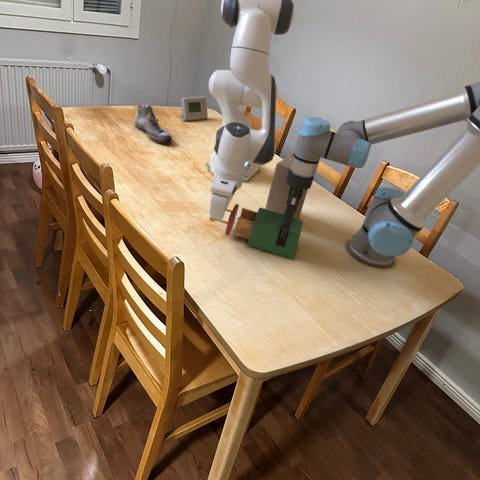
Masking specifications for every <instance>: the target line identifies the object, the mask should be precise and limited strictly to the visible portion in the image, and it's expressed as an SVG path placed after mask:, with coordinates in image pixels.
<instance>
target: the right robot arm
mask: <svg viewBox="0 0 480 480" xmlns="http://www.w3.org/2000/svg"><path fill="white" fill-rule="evenodd" d="M464 121H465V122H467V123H466V129H464V131H463V132H461V134H460V135H459V136H458V137H457V138H456V139H455V140H454V141H453V142H452V143H451V144H450V146H449V147H448V148H447V149H446V150H444V152H443V153H442V154H441V155H440V156H439V157H438V158H437V159H436V160H434V162H433V163H432V164H431V165H430V166H429V167H428V169H426V170H425V172H424V173H423V174H422V175H421V176H420V177H419V178H418V179H417V180H416V181H415V182H414V183H413V184H412V185H411V186H410V187H409V188H408V189H407V190H406V192H404V191H402V190H399V189H396V188H392V187H387V186H386V187H385V186H382V187H379V188H377V189H376V190H375V193H374V194H373V197H372V201H371V203H370V205H369V208H368V210H367V213H366V215H365V218H364V220H363V222H362V226H361V227H360V228H359V229H358V231H357V232H356V233H355V234H353V235H352V237H351V238H350V240H349V243H348V245H347V246H348V250H349V252H350V253H351V255H352V256H353V257H355V258H356V259H357V260H359V261H361V262H362V263H365V264H367V265H370V266H373V267H379V268H384V267H389V266H391V265H392V264H393V263H394V262H395V261H394V260H395V259H396V257H400V256H403V255H405V254H406V253H407V252H408V251H409V250H410V249H411V248H412V246H413V243H414V238H415V236H416V235H418V234H419V233H420V232H421V231H422V230H423V229H424V228H425V227H426V218H427V217H428V216H429V215H430V214H432V212H433V211H434V210H435V209H436V208H437V207H438V206H440V205H441V203H443V201H444V200H446V199H447V198H448V197H449V196H450V195H451V194H452V193H453V192H454V191H456V190H457V188H458V187H459V186H460V185H461V184H462V183H464V182H465V180H466V179H467V178H468V177H470V175H472V174H473V172H475V170H477V169H478V168H479V166H480V81H478V82H475V83H472V84H468V85H465V86H462V88H461V89H460V90H459V91H458V92H455V93H452V94H448V95H445V96H441V97H437V98H434V99H431V100H427V101H425V102H420V103H417V104H414V105H411V106H407V107H403V108H399V109H397V110H393V111H390V112H386V113H382V114H379V115H376V116H372V117H369V118H366V119H361V120H358V121H355V120H347V121H345V122H343V123H342V124H341V125H340V126H339V128H338V129H337V131H336V132H335V131H333V130H331V123H330V122H329V121H327V120H326V119H323V118H321V117H317V116H307V117H305V118H304V119H303V120H302V124H301V127H300V129H299V132H298V136H297V139H296V143H295V147H294V150H293V154H292V158H290V161H292V162H291V165H290V170H289V171H288V174H287V178H286V182H287V184H288V185H289V186H291V187H290V190H289V193H288V200H287V203H286V204H287V206H286V210H285V213H284V215H285V216H284V220H283V223H282V225H279V227H280V231H279V235H278V238H277V241H276V245H278V246H281V247H284V246H285V243H286V240H287V237H288V233H289V230H290V226H291V223H292V220H293V216H294V213H295V212H296V210H297V207H298V204H299V201H300V199H301V197H302V193H303V190H307V189H308V190H309V189H311V188H312V185H313V181H314V179H315V177H314V176H316V173H317V171H318V170H317V169H318V168H319V163H320V160H321V158H322V159H324V160H328V161H330V162H334V163H337V164H341V165H344V166H347V167H349V168H355V169H363V168H364V166H365V165H366V163H367V161H368V158H369V155H370V152H371V149H372V145H375V144H379V143H383V142H386V141H390V140H391V141H392V140H394V139H398V138H403V137H405V136H410V135H414V134H418V133H421V132H425V131H429V130H432V129H436V128H440V127H444V126H448V125H451V124H457V123H459V122H464Z"/></svg>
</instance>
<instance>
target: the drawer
mask: <svg viewBox="0 0 480 480" xmlns="http://www.w3.org/2000/svg"><path fill="white" fill-rule="evenodd" d="M239 207H240V204H238V203H235V204H234V206H233V208H232V209H229V208H227V209H226V211H225V212H228V213H230V214H229V216H228V219H227V221H226V220H223V219H222V220H219V219H215V218H212V217H210V216H209V221H210V222H219V223H222V224H224V225H226V228H225V233H224V235H225V236H230V233H231V232H232V230H233V228H234V232H233V236H237V237H240V238H243V239H247V240H249V237H250V233H251V230H252V226H253V222H254V220H255V217H256V215H257V212H258V211H255V210H251V209H248V208H244V207H242V209H241V212H240V215H239V216H238V217H237V215H238V211H239ZM235 223H236V224H235ZM234 226H235V227H234Z"/></svg>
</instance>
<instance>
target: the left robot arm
mask: <svg viewBox="0 0 480 480" xmlns="http://www.w3.org/2000/svg"><path fill="white" fill-rule="evenodd" d="M220 14H221V20H223V22H224V24H226V25H228V26H229V27H230V29H233V28H234V27H236V28H235V31H234V35H233V39H232V43H231V50H230V57H229V69H216V70H215V71H214V72H213V73H212V74H211V75H210V77H209V80H208V90H209V93H210V95H211V97H212V98H213V99H214V100H215V101H216V102H217V104H218V106H219V109H220V113H221V127H220V128H219V129H217V131H216V134H215V143H214V147H213V153H212V154H210V158H211V160H209V161H208V164H207V165H208V166H209V170H210V172H211V173H212V174H213V177H212V183H211V185H210V190H209V191H210V193H211V197H210V203H209V218H210V217H212V218H215V219H219V220H223V219H224V217H225V215H226V212H227V211H226V209H228V207H229V206H230V204H231V202H232V200H233V197H234V196H235V194H236V192H237V191H238V190H240V189H241V188H242V187H243V182H247V181H249V179H251V177H253V176H254V175H255V174H256V173H257V172H258V171H259V166H264V165H266V164H268V163H270V162H271V161H272V160H273V159H274V156H275V154H276V152H278V153H279V154H281V153H282V152H281V150H279V149H277V144H276V111H277V101H278V100H279V99H278V98H279V88H278V85H277V82H276V77H275V76H274V75H273V74H271V70H270V68H269V57H270V53H271V52H270V51H271V45H272V34H273V35H274V36H279V35H282V36H283V35H285V34H287V33H288V32H289V30H290V28H291V27H292V25H293V23H294V19H295V5H294V2H293V0H221V2H220ZM240 106H244V107H248V108H252V109H253V108H254V109H261V129H259V130H258V129H257V130H256V129H253V128H252V122H251V119H250V118H249V117H248V116H247V115H246V114H245V113H243V112H242V110H241V109H240ZM255 164H257V165H259V166H257V165H255Z"/></svg>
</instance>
